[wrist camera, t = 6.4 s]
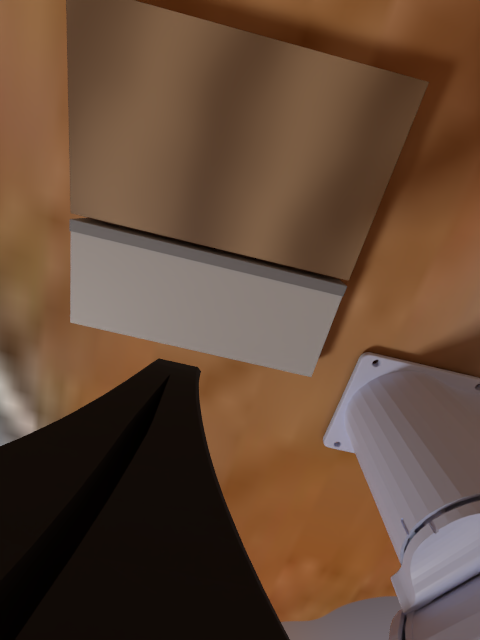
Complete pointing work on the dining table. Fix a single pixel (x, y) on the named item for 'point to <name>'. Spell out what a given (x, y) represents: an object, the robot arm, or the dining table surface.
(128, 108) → the walnut plank
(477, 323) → the dining table surface
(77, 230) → the grey board
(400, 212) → the dining table surface
